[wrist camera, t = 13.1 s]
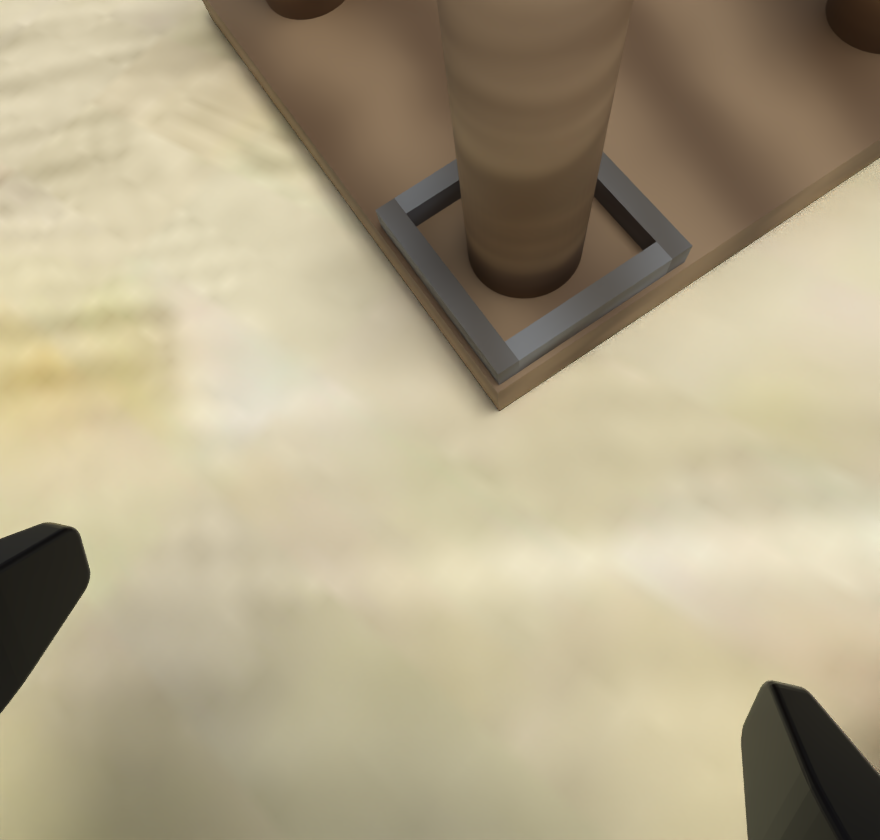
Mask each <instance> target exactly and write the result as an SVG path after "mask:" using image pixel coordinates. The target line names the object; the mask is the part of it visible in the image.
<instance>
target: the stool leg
mask: <svg viewBox="0 0 880 840" xmlns="http://www.w3.org/2000/svg"><path fill="white" fill-rule="evenodd" d="M632 4H633V0H437V6H438V14H439V22H440V30H441V38H442V46H443V54H444V62H445V70H446V78H447V86H448V94H449V103H450V111H451V119H452V127H453V135H454V143H455V151H456V159H457V167H458V175H459V183H460V191H461V199H462V208H463V216H464V224H465V232H466V240H467V248H468V256H469V261H470V264H471V267H472V269H473V271H474V273H475V274H476V276H477V277H478V278H479V279H480V281H481V282H482V283H483V284H485V285H486V286H487V287H488V288H490V289H491V290H493V291H495V292H497V293H499V294H502V295H505V296H508V297H513V298H534V297H539V296H543V295H546V294H548V293H551V292H553V291H555V290H556V289H558V288H560V287H561V286H562V285H564V284H565V283H566V282H567V281H568V280H569V279H570V278H571V277H572V275H573V274H574V273H575V271H576V269H577V268H578V265H579V263H580V260H581V256H582V252H583V247H584V242H585V237H586V232H587V227H588V222H589V217H590V212H591V207H592V202H593V197H594V192H595V187H596V182H597V177H598V172H599V167H600V163H601V158H602V153H603V148H604V143H605V138H606V133H607V128H608V123H609V118H610V113H611V108H612V103H613V98H614V93H615V88H616V83H617V78H618V73H619V68H620V63H621V58H622V53H623V49H624V44H625V39H626V34H627V29H628V24H629V19H630V14H631V9H632Z"/></svg>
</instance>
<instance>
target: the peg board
mask: <svg viewBox="0 0 880 840" xmlns="http://www.w3.org/2000/svg"><path fill="white" fill-rule="evenodd" d="M203 2H204V4H205V6H206V8H207V10H208V12H209V14H210V16H211V18H212V19H213V20H214V22H215V23H216V25H217V26H218V27H219V29H220V30H221V31H222V33H223V34H224V36H225V37H226V38H227V40H228V41H229V42H230V44H231V45H232V46H233V48H234V49H235V51H236V52H237V53H238V55H239V56H240V57H241V59H242V60H243V61H244V63H245V64H246V66H247V67H248V68H249V70H250V71H251V72H252V74H253V75H254V77H255V78H256V79H257V81H258V82H259V83H260V85H261V86H262V87H263V89H264V90H265V92H266V93H267V94H268V96H269V97H270V98H271V100H272V101H273V102H274V104H275V105H276V107H277V108H278V109H279V111H280V112H281V113H282V115H283V116H284V118H285V119H286V120H287V122H288V123H289V124H290V126H291V127H292V128H293V130H294V131H295V133H296V134H297V135H298V137H299V138H300V139H301V141H302V142H303V143H304V145H305V146H306V148H307V149H308V150H309V152H310V153H311V154H312V156H313V157H314V158H315V160H316V161H317V163H318V164H319V165H320V167H321V168H322V169H323V171H324V172H325V174H326V175H327V176H328V178H329V179H330V180H331V182H332V183H333V184H334V186H335V187H336V189H337V190H338V191H339V193H340V194H341V195H342V197H343V198H344V199H345V201H346V202H347V204H348V205H349V206H350V208H351V209H352V210H353V212H354V213H355V215H356V216H357V217H358V219H359V220H360V221H361V223H362V224H363V225H364V227H365V228H366V230H367V231H368V232H369V234H370V235H371V236H372V238H373V239H374V240H375V242H376V243H377V245H378V246H379V247H380V249H381V250H382V251H383V253H384V254H385V256H386V257H387V258H388V260H389V261H390V262H391V264H392V265H393V266H394V268H395V269H396V271H397V272H398V273H399V275H400V276H401V277H402V279H403V280H404V281H405V283H406V284H407V286H408V287H409V288H410V290H411V291H412V292H413V294H414V295H415V296H416V298H417V299H418V301H419V302H420V303H421V305H422V306H423V307H424V309H425V310H426V312H427V313H428V314H429V316H430V317H431V318H432V320H433V321H434V322H435V324H436V325H437V327H438V328H439V329H440V331H441V332H442V333H443V335H444V336H445V337H446V339H447V340H448V342H449V343H450V344H451V346H452V347H453V348H454V350H455V351H456V353H457V354H458V355H459V357H460V358H461V359H462V361H463V362H464V363H465V365H466V366H467V368H468V369H469V370H470V372H471V373H472V374H473V376H474V377H475V378H476V380H477V381H478V383H479V384H480V385H481V387H482V388H483V389H484V391H485V392H486V394H487V395H488V396H489V398H490V399H491V400H492V402H493V403H494V404H495V406H496V407H497V409H498V410H499V411H500V410H502V409H503V408H505V407H506V406H508V405H509V404H511V403H512V402H514V401H515V400H517V399H518V398H520V397H521V396H523V395H524V394H526V393H527V392H529V391H530V390H532V389H533V388H535V387H536V386H538V385H539V384H541V383H542V382H544V381H545V380H547V379H548V378H550V377H551V376H553V375H554V374H556V373H557V372H559V371H560V370H562V369H563V368H565V367H566V366H568V365H569V364H571V363H572V362H574V361H575V360H577V359H578V358H580V357H581V356H583V355H584V354H586V353H587V352H589V351H590V350H592V349H593V348H595V347H596V346H598V345H599V344H601V343H602V342H604V341H605V340H607V339H608V338H610V337H611V336H613V335H614V334H616V333H617V332H619V331H620V330H622V329H623V328H625V327H626V326H628V325H629V324H631V323H632V322H634V321H635V320H637V319H638V318H640V317H641V316H643V315H644V314H646V313H647V312H649V311H650V310H652V309H653V308H655V307H656V306H658V305H659V304H661V303H662V302H664V301H665V300H667V299H668V298H670V297H671V296H673V295H674V294H676V293H677V292H679V291H680V290H682V289H683V288H685V287H686V286H688V285H689V284H691V283H692V282H694V281H695V280H697V279H698V278H700V277H701V276H703V275H704V274H706V273H707V272H709V271H710V270H712V269H713V268H715V267H716V266H718V265H719V264H721V263H722V262H724V261H725V260H727V259H728V258H730V257H731V256H733V255H734V254H736V253H737V252H739V251H740V250H742V249H743V248H745V247H746V246H748V245H749V244H751V243H752V242H754V241H755V240H757V239H758V238H760V237H761V236H763V235H764V234H766V233H767V232H769V231H770V230H772V229H773V228H775V227H776V226H778V225H779V224H781V223H782V222H784V221H785V220H787V219H788V218H790V217H791V216H793V215H794V214H796V213H797V212H799V211H800V210H802V209H803V208H805V207H806V206H808V205H809V204H811V203H812V202H814V201H815V200H817V199H818V198H820V197H821V196H823V195H824V194H826V193H827V192H829V191H830V190H832V189H833V188H835V187H836V186H838V185H839V184H841V183H842V182H844V181H845V180H847V179H848V178H850V177H851V176H853V175H854V174H856V173H857V172H859V171H860V170H862V169H863V168H865V167H866V166H868V165H869V164H871V163H872V162H874V161H875V160H877V159H878V158H880V0H633V4H632V9H631V14H630V19H629V24H628V29H627V34H626V39H625V44H624V49H623V53H622V58H621V63H620V68H619V73H618V78H617V83H616V88H615V93H614V98H613V103H612V108H611V113H610V118H609V123H608V128H607V133H606V138H605V143H604V148H603V153H602V158H601V163H600V167H599V172H598V177H597V182H596V187H595V192H594V197H593V202H592V207H591V212H590V217H589V222H588V227H587V232H586V237H585V242H584V247H583V252H582V256H581V260H580V263H579V265H578V268H577V269H576V271H575V273H574V274H573V275H572V277H571V278H570V279H569V280H568V281H567V282H566V283H565V284H564V285H562V286H561V287H560V288H558V289H556V290H555V291H553V292H551V293H548V294H546V295H543V296H539V297H534V298H513V297H508V296H505V295H502V294H499V293H497V292H495V291H493V290H491V289H490V288H488V287H487V286H486V285H485V284H483V283H482V282H481V281H480V279H479V278H478V277H477V276H476V274H475V273H474V271H473V269H472V267H471V264H470V261H469V256H468V248H467V240H466V232H465V224H464V216H463V208H462V199H461V191H460V183H459V175H458V167H457V159H456V151H455V143H454V135H453V127H452V119H451V111H450V103H449V94H448V86H447V78H446V70H445V62H444V54H443V46H442V38H441V30H440V22H439V14H438V6H437V0H203Z"/></svg>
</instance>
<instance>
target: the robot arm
mask: <svg viewBox="0 0 880 840" xmlns="http://www.w3.org/2000/svg"><path fill="white" fill-rule="evenodd" d="M89 579H90V568H89V565H88V561H87V558H86V554H85V550H84V547H83V543H82V539H81V536H80V534H79V532H78V531H77V530H76V529H75V528H73V527H70V526H65V525H61V524H56V523H42V524H39V525H36V526H33V527H31V528H28V529H25V530H23V531H20V532H17V533H15V534H12V535H9V536H7V537H4V538H1V539H0V713H1V712H2V711H3V710H4V708H5V707H6V706H7V705H8V703H9V702H10V701H11V699H12V698H13V697H14V695H15V694H16V693H17V691H18V690H19V689H20V687H21V686H22V685H23V683H24V682H25V680H26V679H27V677H28V676H29V674H30V673H31V672H32V670H33V669H34V667H35V666H36V664H37V663H38V661H39V660H40V658H41V657H42V655H43V654H44V652H45V651H46V649H47V647H48V646H49V644H50V643H51V641H52V640H53V638H54V637H55V635H56V634H57V632H58V631H59V629H60V628H61V626H62V625H63V623H64V622H65V620H66V619H67V617H68V616H69V614H70V613H71V611H72V610H73V608H74V607H75V605H76V604H77V602H78V601H79V599H80V598H81V596H82V594H83V593H84V591H85V590H86V588H87V586H88V583H89ZM741 750H742V764H743V778H744V792H745V806H746V820H747V834H748V840H880V775H879V773H878V772H877V771H876V770H875V769H874V767H873V766H872V765H871V764H870V763H869V762H868V760H867V759H866V758H865V757H864V756H863V754H862V753H861V752H860V751H859V750H858V749H857V747H856V746H855V745H854V744H853V743H852V741H851V740H850V739H849V738H848V737H847V736H846V734H845V733H844V732H843V731H842V730H841V729H840V727H839V726H838V725H837V724H836V723H835V721H834V720H833V719H832V718H831V717H830V716H829V714H828V713H827V712H826V711H825V710H824V708H823V707H822V706H821V705H820V704H819V703H818V701H817V700H816V699H815V698H814V697H813V696H812V694H811V693H810V692H808V691H807V690H806V689H804V688H802V687H799V686H795V685H790V684H786V683H781V682H777V681H767V682H765V683H764V684H763V685H762V686H761V688H760V690H759V692H758V694H757V696H756V699H755V701H754V703H753V705H752V707H751V709H750V712H749V714H748V716H747V718H746V720H745V723H744V725H743V729H742V736H741Z"/></svg>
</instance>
